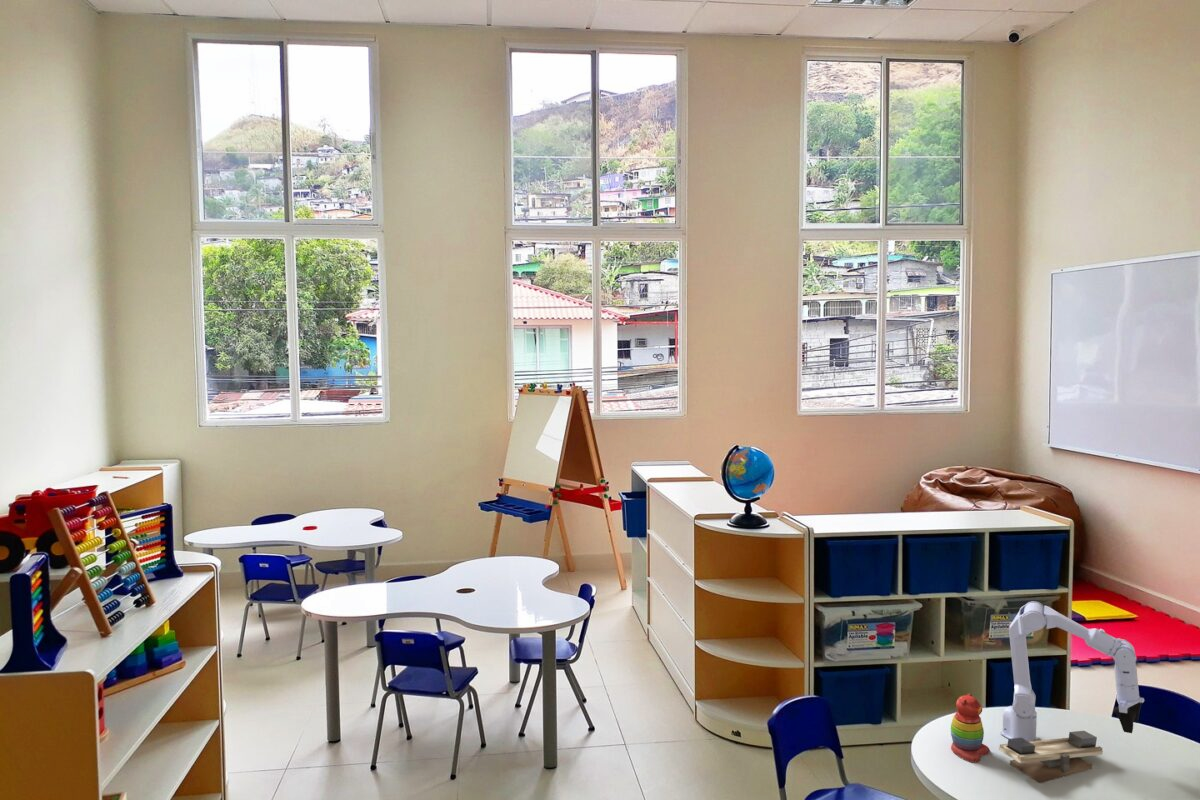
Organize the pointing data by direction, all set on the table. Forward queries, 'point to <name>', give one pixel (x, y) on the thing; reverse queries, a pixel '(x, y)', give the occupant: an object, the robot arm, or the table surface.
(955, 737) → the stacking bear
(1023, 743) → the block
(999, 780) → the table surface
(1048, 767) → the beam stand
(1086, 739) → the block
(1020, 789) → the table surface
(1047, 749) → the balance beam
